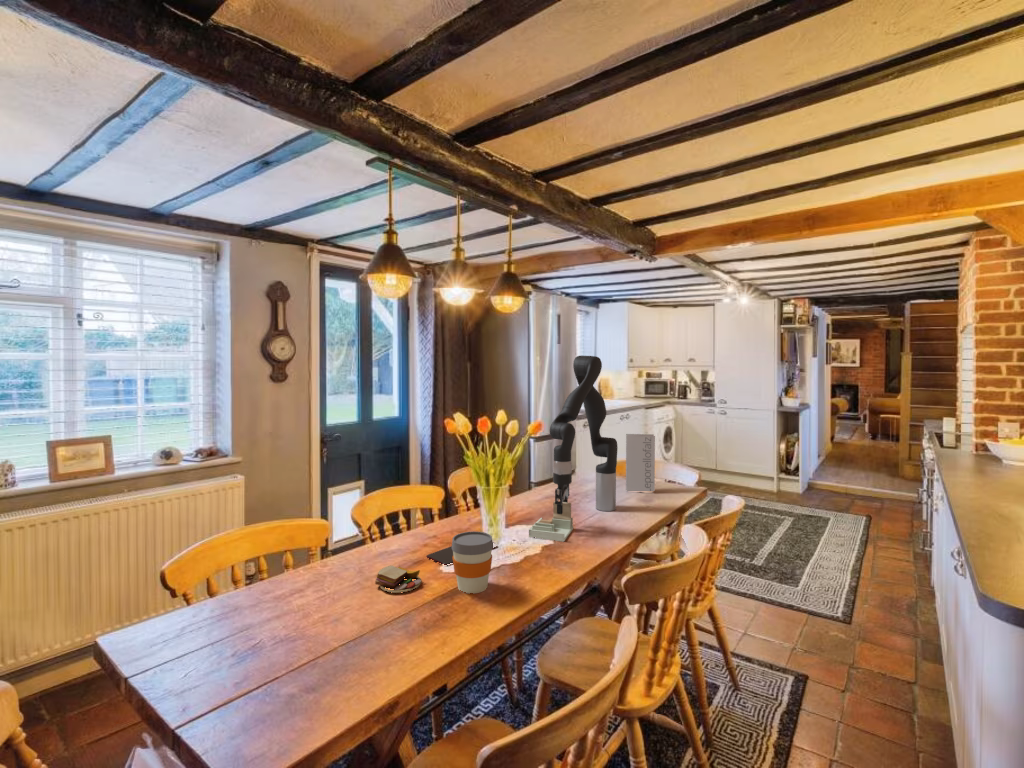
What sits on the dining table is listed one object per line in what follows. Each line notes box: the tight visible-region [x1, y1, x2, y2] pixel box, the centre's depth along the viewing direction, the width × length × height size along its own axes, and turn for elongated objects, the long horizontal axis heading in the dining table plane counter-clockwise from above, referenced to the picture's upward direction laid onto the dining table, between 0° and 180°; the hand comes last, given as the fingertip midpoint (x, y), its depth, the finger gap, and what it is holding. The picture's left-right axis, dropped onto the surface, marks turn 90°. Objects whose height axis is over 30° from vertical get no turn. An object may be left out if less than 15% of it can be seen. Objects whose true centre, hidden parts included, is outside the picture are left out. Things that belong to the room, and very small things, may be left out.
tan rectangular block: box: [552, 500, 572, 520], centre depth 202 cm, size 2×7×10 cm, turn 68°
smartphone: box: [425, 545, 453, 565], centre depth 179 cm, size 12×2×25 cm
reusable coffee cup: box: [451, 530, 494, 594], centre depth 150 cm, size 13×13×15 cm
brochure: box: [625, 433, 656, 491], centre depth 260 cm, size 14×6×30 cm, turn 81°
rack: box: [528, 517, 574, 543], centre depth 198 cm, size 16×14×4 cm
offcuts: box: [538, 519, 552, 524], centre depth 199 cm, size 5×6×3 cm
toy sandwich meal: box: [374, 565, 422, 594], centre depth 152 cm, size 12×14×5 cm
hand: (562, 510), depth 202 cm, fingers open, 8 cm apart
